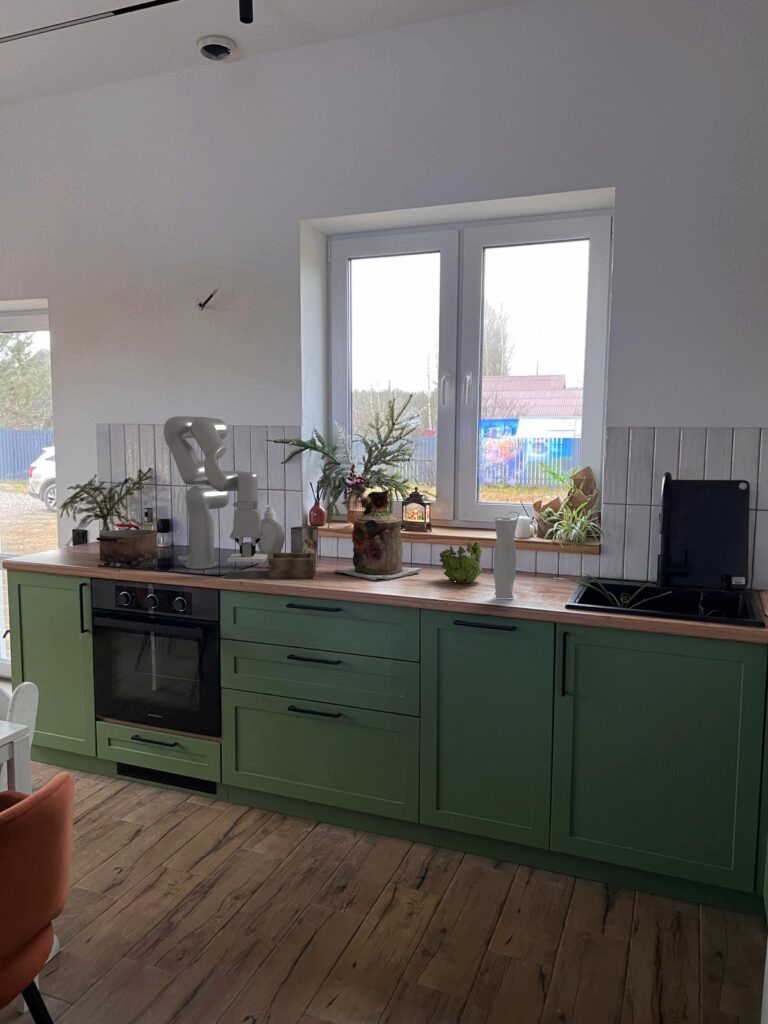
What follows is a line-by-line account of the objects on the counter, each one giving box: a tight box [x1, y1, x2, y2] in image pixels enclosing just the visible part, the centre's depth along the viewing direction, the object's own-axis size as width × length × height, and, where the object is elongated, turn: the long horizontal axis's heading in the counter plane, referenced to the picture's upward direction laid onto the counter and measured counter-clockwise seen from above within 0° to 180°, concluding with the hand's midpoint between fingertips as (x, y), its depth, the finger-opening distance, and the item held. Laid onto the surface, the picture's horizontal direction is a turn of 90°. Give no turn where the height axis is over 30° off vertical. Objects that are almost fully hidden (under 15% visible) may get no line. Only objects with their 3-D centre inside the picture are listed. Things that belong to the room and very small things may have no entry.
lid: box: [227, 541, 267, 563], centre depth 279 cm, size 13×11×6 cm
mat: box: [223, 569, 269, 580], centre depth 280 cm, size 15×15×1 cm
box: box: [268, 552, 317, 580], centre depth 280 cm, size 16×15×7 cm
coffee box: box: [290, 525, 319, 568], centre depth 297 cm, size 9×6×16 cm
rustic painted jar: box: [333, 489, 422, 581], centre depth 285 cm, size 25×25×32 cm
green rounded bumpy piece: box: [439, 540, 483, 583], centre depth 271 cm, size 18×16×16 cm
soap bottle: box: [256, 504, 286, 568], centre depth 296 cm, size 13×8×24 cm, turn 69°
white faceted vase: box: [493, 511, 520, 599], centre depth 246 cm, size 8×8×28 cm
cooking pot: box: [96, 529, 159, 563], centre depth 313 cm, size 30×22×11 cm
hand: (247, 555), depth 280 cm, fingers closed on lid, 3 cm apart
